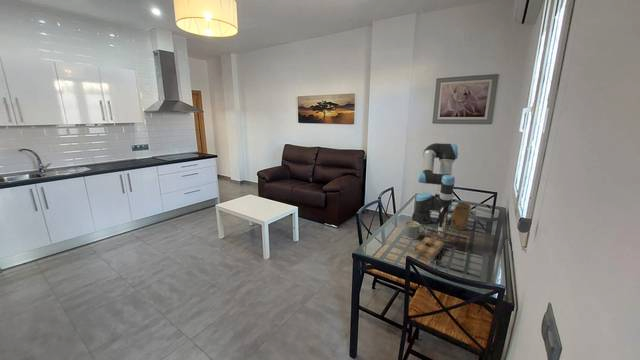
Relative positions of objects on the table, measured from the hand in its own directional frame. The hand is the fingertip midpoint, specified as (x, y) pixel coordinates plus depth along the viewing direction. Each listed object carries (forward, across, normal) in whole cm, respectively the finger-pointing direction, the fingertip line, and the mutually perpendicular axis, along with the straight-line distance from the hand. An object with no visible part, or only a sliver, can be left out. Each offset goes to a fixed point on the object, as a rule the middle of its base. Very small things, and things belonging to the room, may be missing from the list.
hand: (441, 229), depth 177 cm
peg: (+5, 0, 0) cm, 5 cm away
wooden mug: (+11, +54, +14) cm, 57 cm away
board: (+9, -16, +2) cm, 18 cm away
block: (+11, +30, -4) cm, 32 cm away
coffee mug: (+10, -5, +17) cm, 20 cm away
